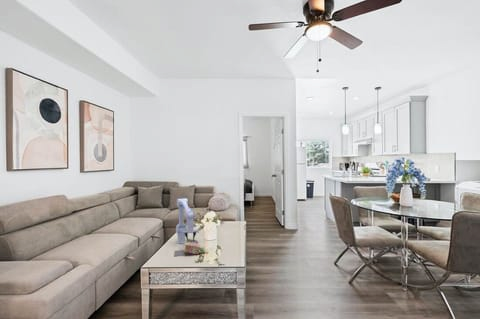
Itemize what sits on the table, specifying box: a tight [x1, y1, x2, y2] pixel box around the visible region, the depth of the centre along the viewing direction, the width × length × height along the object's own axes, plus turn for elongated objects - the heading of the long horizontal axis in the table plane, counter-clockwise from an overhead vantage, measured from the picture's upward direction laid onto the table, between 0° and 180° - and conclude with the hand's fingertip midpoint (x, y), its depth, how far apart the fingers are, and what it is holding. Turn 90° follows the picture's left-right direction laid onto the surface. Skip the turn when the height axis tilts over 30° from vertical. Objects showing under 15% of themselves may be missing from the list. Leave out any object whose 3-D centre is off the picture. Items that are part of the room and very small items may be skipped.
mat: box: [173, 249, 196, 257], centre depth 228 cm, size 14×28×1 cm, turn 103°
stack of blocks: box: [183, 238, 201, 255], centre depth 230 cm, size 21×6×12 cm
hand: (190, 241), depth 234 cm, fingers open, 5 cm apart
